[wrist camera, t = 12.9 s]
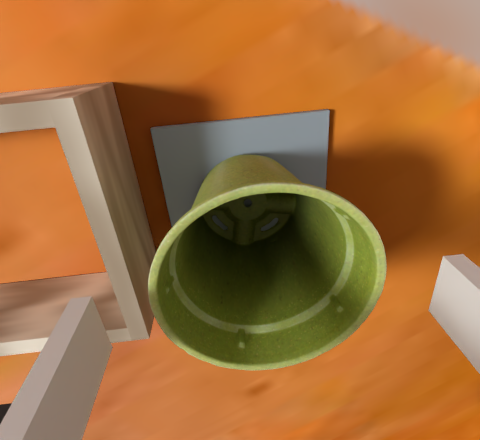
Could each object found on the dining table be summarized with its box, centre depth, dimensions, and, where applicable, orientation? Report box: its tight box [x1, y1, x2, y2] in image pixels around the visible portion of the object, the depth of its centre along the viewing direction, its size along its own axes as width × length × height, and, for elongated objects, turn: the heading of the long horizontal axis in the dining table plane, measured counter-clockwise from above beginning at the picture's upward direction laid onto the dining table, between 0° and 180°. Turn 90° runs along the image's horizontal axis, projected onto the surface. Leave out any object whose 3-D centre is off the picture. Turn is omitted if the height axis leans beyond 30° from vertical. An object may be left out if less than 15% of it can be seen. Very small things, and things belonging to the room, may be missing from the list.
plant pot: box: [148, 155, 387, 370], centre depth 17 cm, size 9×9×9 cm
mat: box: [150, 109, 330, 231], centre depth 21 cm, size 10×10×1 cm
